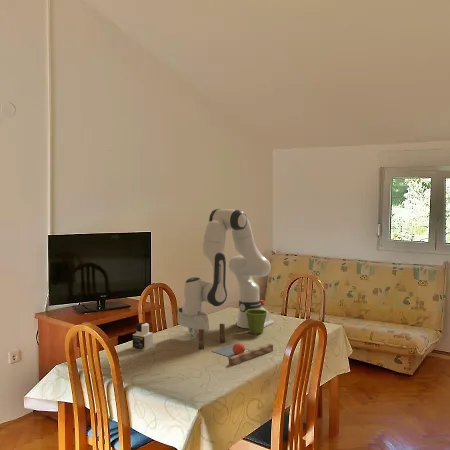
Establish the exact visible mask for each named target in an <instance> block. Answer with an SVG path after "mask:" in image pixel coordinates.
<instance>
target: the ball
mask: <svg viewBox="0 0 450 450" xmlns="http://www.w3.org/2000/svg"><path fill="white" fill-rule="evenodd" d="M233 345H234V346H233V352H234V354H236V355H238V354H241V353H244V351H245V349H246V346H245V345H244V344H243V343H242V342H235V344H233Z"/></svg>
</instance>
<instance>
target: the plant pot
mask: <svg viewBox="0 0 450 450" xmlns="http://www.w3.org/2000/svg"><path fill="white" fill-rule="evenodd" d="M265 310H266V309H265ZM265 310H260V309H251V310H247V311H245V312H246V315H247V319H248V326H249V328H248V331H249V333H250V334H253V335H258V334H262V333H263V334H264V329H265V327H264V323H265V318H266V314H267V311H268V310H266V311H265Z"/></svg>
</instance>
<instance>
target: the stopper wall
mask: <svg viewBox="0 0 450 450" xmlns="http://www.w3.org/2000/svg"><path fill="white" fill-rule="evenodd" d="M249 350H250V351H247V352H244V353H241V354H238V355H235V356H232V357H228V365H230V366H235V365H238V364H240V363H243V362H246V361H249V360H251V358H252V359H254V358H257V357H259V355H260V356H262V355H261V354H263V355H265V354H268V353H271V352H273V351H274V344H273V343H268V344H265V345H261V346H259V347H256V348H253V349H249ZM270 351H271V352H270ZM256 356H257V357H256ZM253 357H254V358H253ZM248 359H249V360H248ZM245 360H246V361H245ZM237 363H238V364H237Z"/></svg>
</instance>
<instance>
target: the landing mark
mask: <svg viewBox="0 0 450 450" xmlns="http://www.w3.org/2000/svg"><path fill="white" fill-rule="evenodd" d="M234 345H235V344H230V345H227V346H224V347H221V348H218V349H217V348H216V349H214V350H211V352H212V353H215V354H218V355H221V356H224V357H228V358H229V357H232V356H235V355H236V354H234V352H233V346H234ZM245 350H248V351H250V350H251V349H249V348H245ZM246 352H247V351H246Z"/></svg>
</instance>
